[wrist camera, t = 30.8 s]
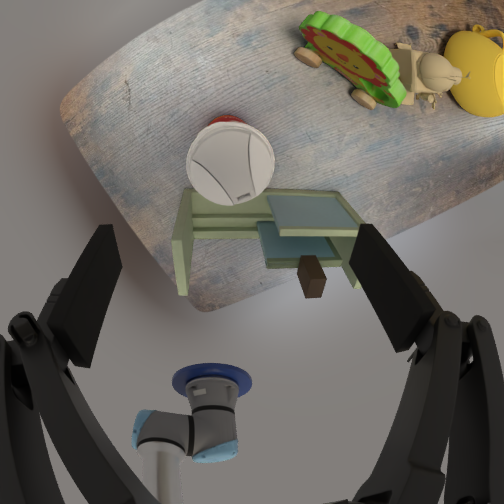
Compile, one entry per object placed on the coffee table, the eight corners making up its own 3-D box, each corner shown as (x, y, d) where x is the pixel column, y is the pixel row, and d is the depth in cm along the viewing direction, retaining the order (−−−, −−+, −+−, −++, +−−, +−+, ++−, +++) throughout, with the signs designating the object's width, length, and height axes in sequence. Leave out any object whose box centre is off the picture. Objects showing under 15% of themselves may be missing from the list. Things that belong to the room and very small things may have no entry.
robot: (423, 103, 34) (489, 127, 22) (384, 101, 34) (450, 124, 22) (419, 45, 28) (487, 50, 16) (378, 38, 28) (446, 35, 16)
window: (316, 231, 45) (350, 295, 33) (256, 231, 43) (271, 300, 31) (320, 214, 43) (358, 277, 31) (257, 213, 42) (274, 280, 30)
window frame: (329, 233, 47) (361, 288, 36) (187, 234, 44) (178, 295, 33) (338, 191, 43) (379, 239, 31) (184, 188, 40) (170, 240, 28)
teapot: (432, 97, 33) (487, 115, 23) (438, 5, 22) (491, 3, 12) (492, 126, 35) (536, 148, 25) (500, 49, 25) (545, 61, 14)
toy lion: (381, 84, 32) (450, 99, 20) (363, 110, 35) (427, 134, 22) (296, 18, 26) (340, -10, 14) (274, 46, 29) (309, 28, 16)
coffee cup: (265, 150, 38) (289, 191, 25) (211, 171, 39) (208, 223, 27) (243, 97, 33) (257, 108, 21) (186, 120, 34) (167, 147, 22)
